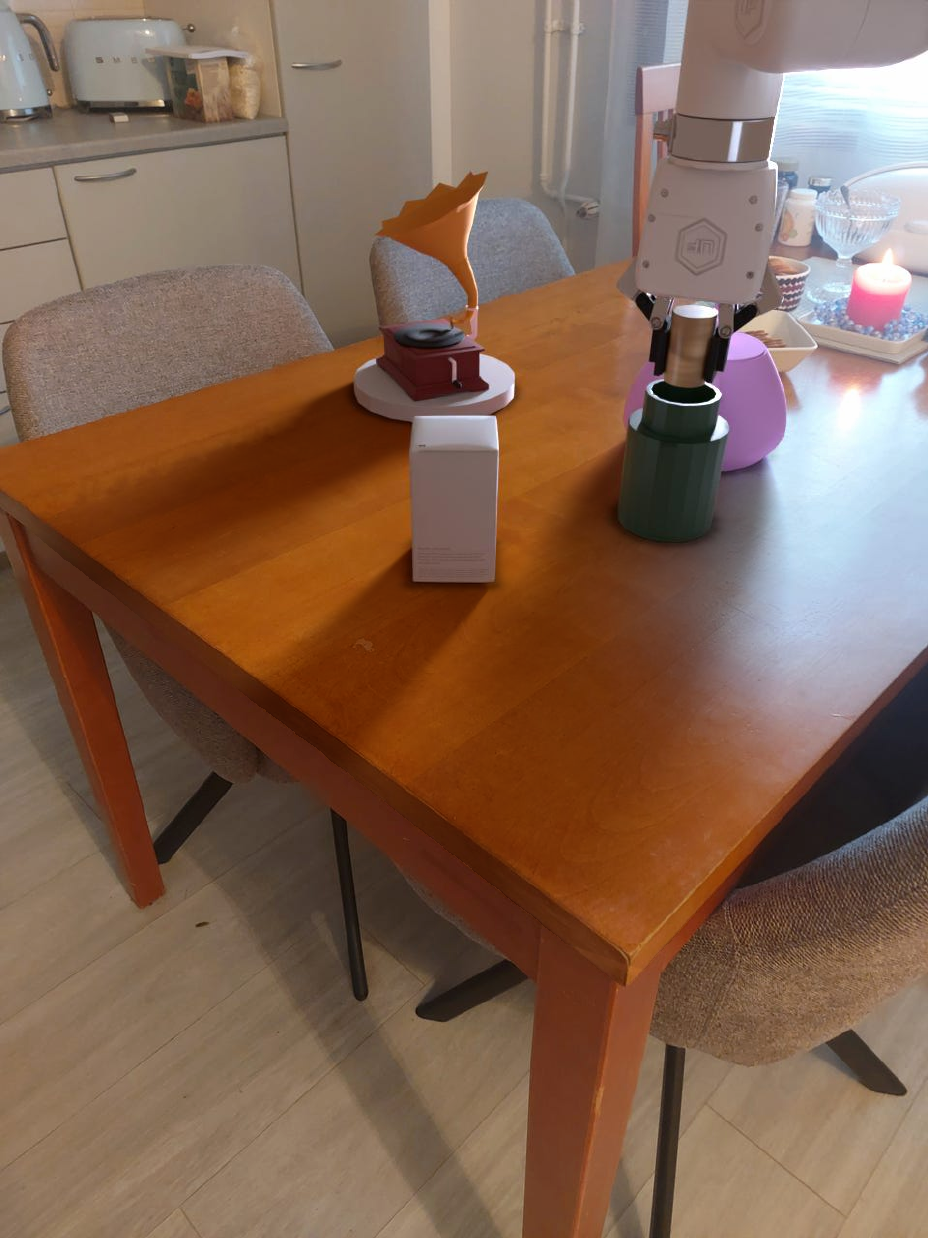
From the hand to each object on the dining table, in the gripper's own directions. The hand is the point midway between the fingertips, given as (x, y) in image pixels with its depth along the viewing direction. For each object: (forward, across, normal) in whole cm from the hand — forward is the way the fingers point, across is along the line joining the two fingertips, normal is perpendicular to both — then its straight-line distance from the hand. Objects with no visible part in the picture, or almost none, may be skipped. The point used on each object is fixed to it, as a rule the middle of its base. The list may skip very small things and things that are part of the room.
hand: (685, 372), depth 79 cm
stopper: (+1, 0, 0) cm, 1 cm away
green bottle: (+15, 0, 0) cm, 15 cm away
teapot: (+15, 0, +20) cm, 25 cm away
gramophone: (+15, -34, +22) cm, 43 cm away
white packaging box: (+15, -16, -15) cm, 26 cm away
